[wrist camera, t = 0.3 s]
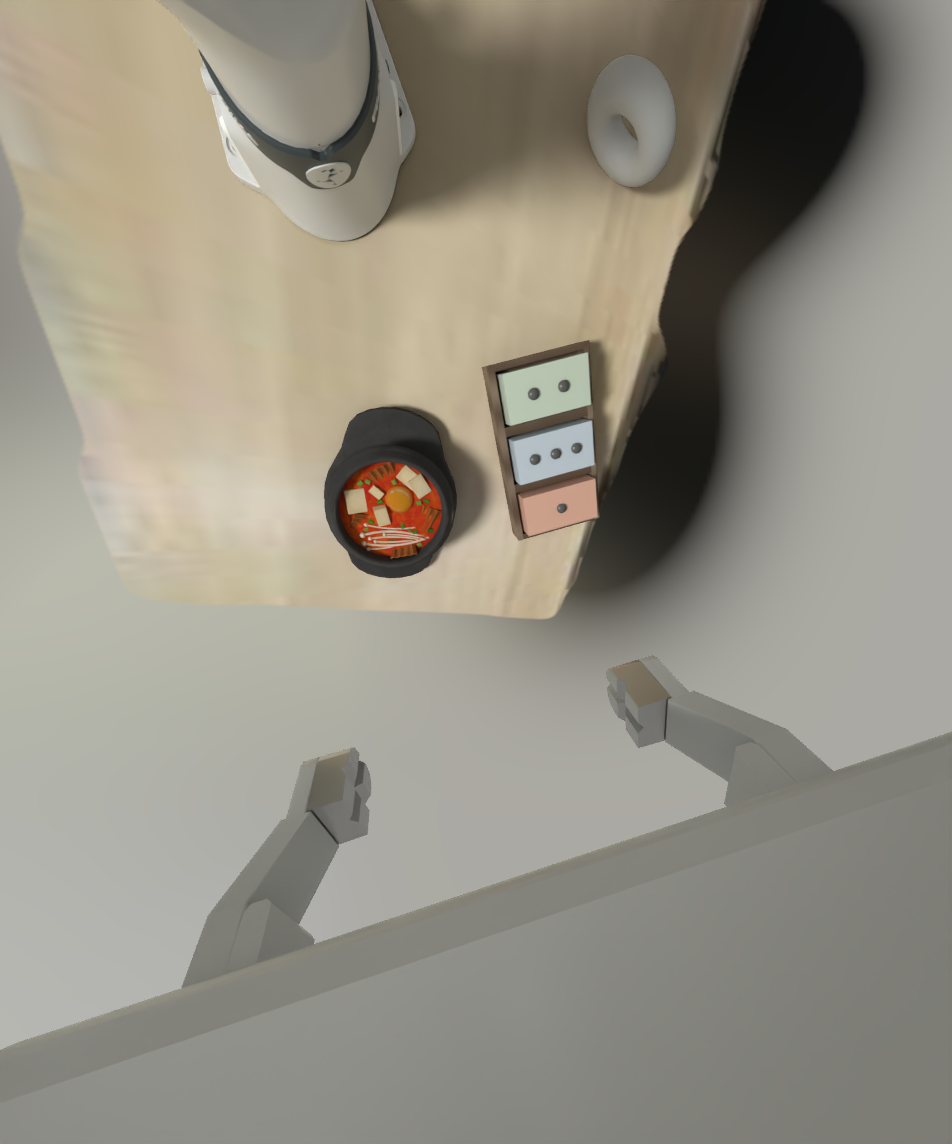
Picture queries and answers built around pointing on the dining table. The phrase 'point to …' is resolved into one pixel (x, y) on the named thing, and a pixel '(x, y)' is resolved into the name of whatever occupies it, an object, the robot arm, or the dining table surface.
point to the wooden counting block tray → (533, 428)
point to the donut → (631, 120)
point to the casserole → (390, 493)
